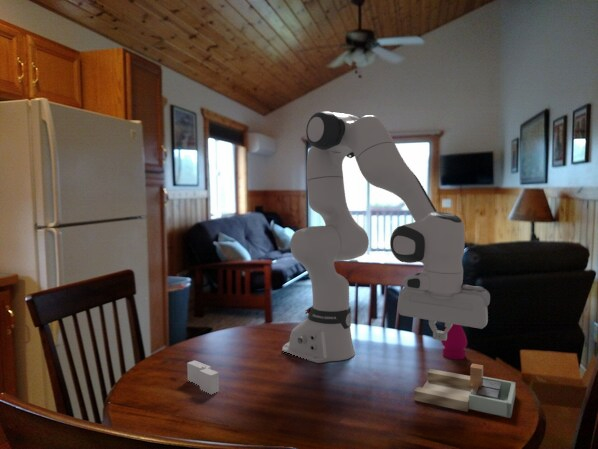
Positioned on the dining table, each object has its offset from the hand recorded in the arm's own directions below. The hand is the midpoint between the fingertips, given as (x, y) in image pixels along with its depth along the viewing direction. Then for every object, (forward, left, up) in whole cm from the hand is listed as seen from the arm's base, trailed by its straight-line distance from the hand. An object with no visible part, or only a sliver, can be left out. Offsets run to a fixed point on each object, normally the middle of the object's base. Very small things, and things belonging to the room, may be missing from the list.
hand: (439, 339), depth 103 cm
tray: (+11, 0, -13) cm, 18 cm away
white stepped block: (-53, -24, -14) cm, 60 cm away
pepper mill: (-2, +28, -14) cm, 31 cm away
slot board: (+2, 0, -13) cm, 14 cm away
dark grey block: (+11, +2, -12) cm, 17 cm away
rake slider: (+8, 0, -12) cm, 15 cm away
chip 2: (+11, -3, -12) cm, 17 cm away
